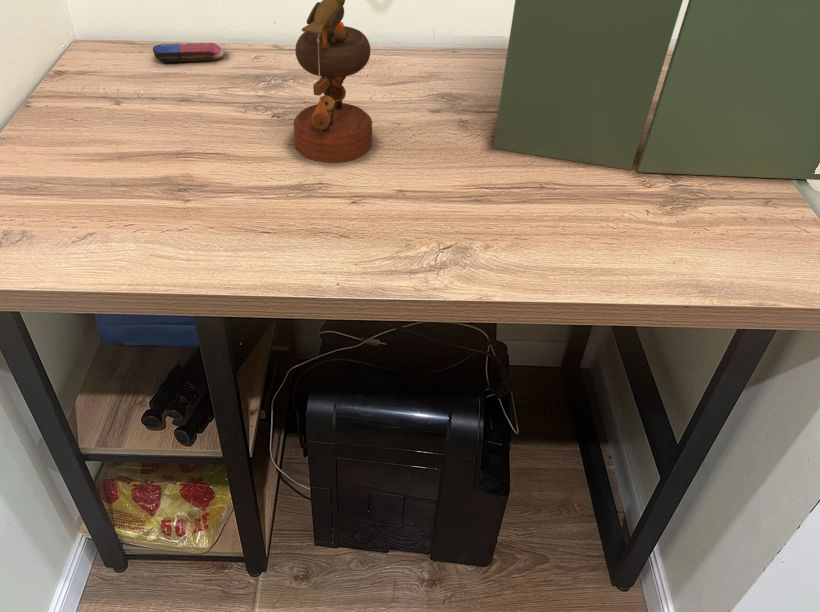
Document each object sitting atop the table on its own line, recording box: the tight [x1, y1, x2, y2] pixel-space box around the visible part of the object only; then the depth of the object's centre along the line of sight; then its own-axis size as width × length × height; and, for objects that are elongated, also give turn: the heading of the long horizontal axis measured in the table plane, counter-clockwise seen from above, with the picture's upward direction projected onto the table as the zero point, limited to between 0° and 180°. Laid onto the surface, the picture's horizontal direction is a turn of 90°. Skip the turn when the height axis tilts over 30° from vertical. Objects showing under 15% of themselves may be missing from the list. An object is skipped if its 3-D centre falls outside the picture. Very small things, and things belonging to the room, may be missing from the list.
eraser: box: [152, 42, 225, 63], centre depth 117 cm, size 11×4×2 cm, turn 99°
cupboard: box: [492, 0, 684, 171], centre depth 95 cm, size 18×26×24 cm
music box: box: [293, 0, 373, 163], centre depth 91 cm, size 15×11×20 cm
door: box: [636, 0, 820, 181], centre depth 81 cm, size 7×26×24 cm, turn 86°
